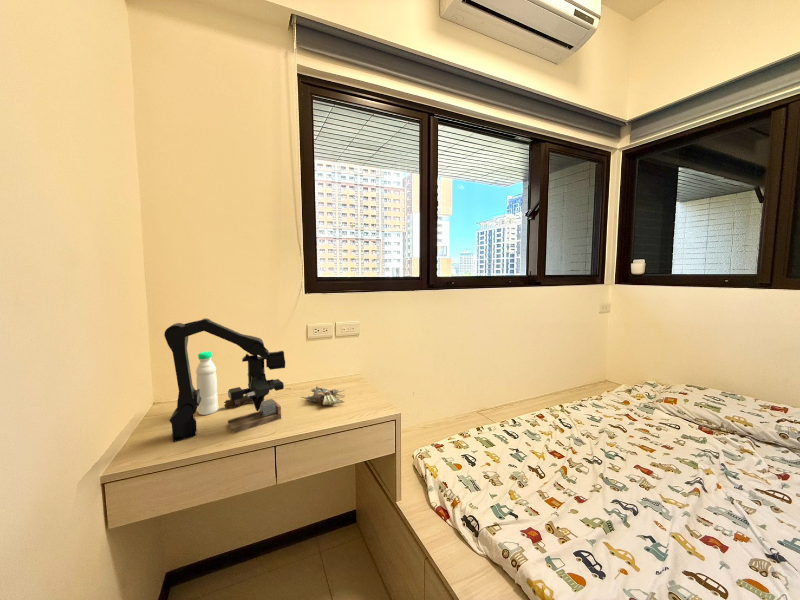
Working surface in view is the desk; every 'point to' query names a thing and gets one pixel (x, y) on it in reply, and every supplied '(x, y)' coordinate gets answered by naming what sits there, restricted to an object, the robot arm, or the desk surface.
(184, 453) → the desk surface
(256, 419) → the track
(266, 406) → the block
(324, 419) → the desk surface
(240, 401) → the bolt
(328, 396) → the figurine
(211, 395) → the water bottle
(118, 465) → the desk surface
